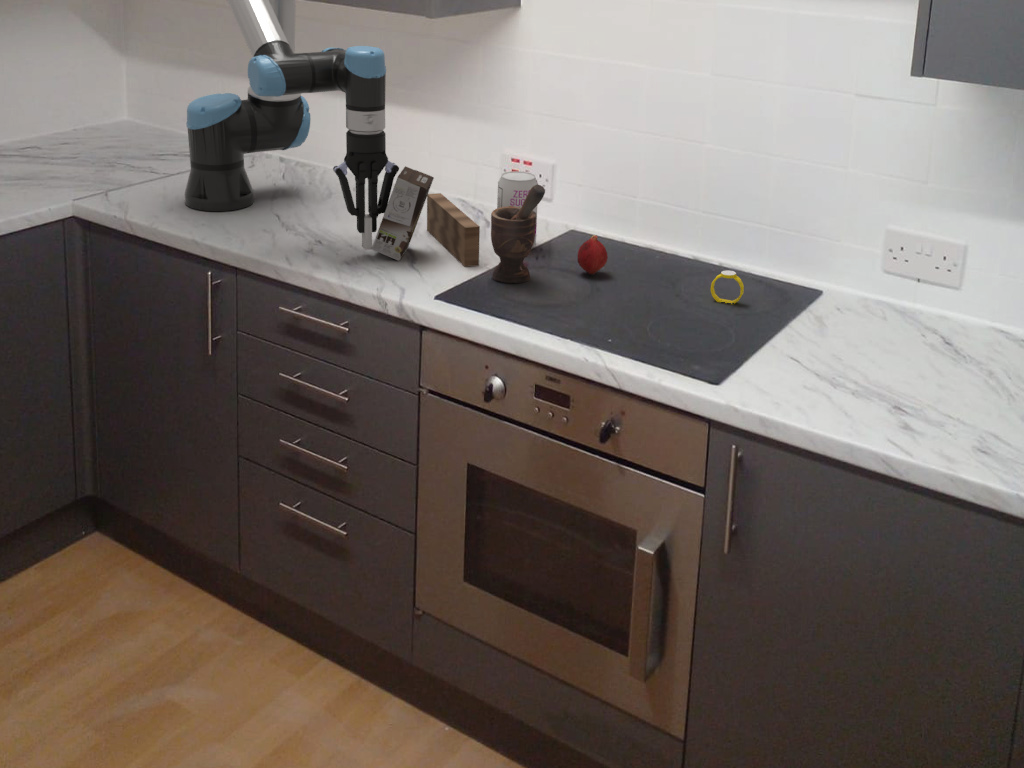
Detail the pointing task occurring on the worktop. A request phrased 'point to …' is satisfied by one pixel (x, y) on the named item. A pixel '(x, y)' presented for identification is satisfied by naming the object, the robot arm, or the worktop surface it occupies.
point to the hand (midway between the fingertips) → (367, 247)
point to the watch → (728, 275)
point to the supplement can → (515, 190)
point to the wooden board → (453, 229)
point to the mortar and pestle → (514, 237)
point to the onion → (592, 255)
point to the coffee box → (402, 213)
